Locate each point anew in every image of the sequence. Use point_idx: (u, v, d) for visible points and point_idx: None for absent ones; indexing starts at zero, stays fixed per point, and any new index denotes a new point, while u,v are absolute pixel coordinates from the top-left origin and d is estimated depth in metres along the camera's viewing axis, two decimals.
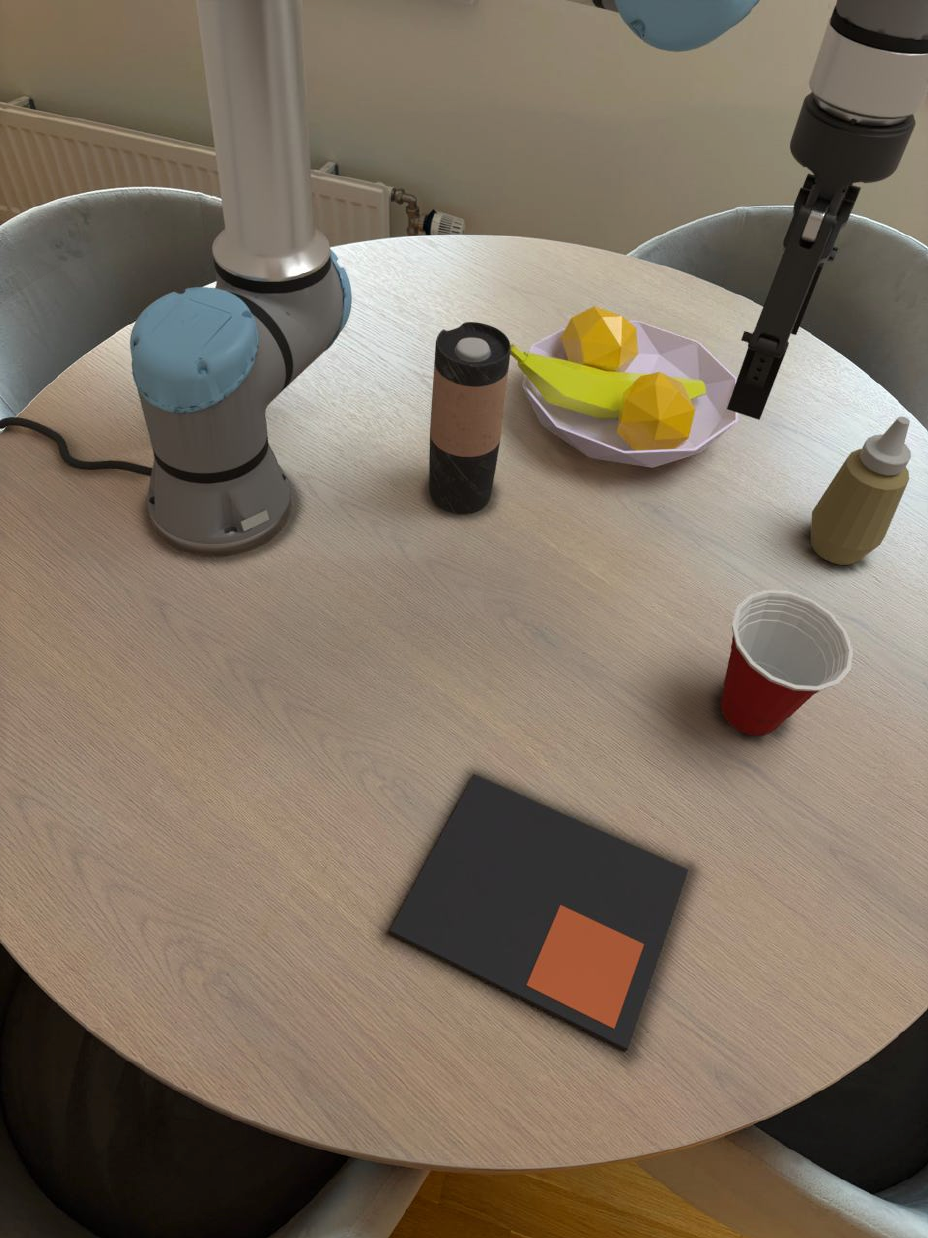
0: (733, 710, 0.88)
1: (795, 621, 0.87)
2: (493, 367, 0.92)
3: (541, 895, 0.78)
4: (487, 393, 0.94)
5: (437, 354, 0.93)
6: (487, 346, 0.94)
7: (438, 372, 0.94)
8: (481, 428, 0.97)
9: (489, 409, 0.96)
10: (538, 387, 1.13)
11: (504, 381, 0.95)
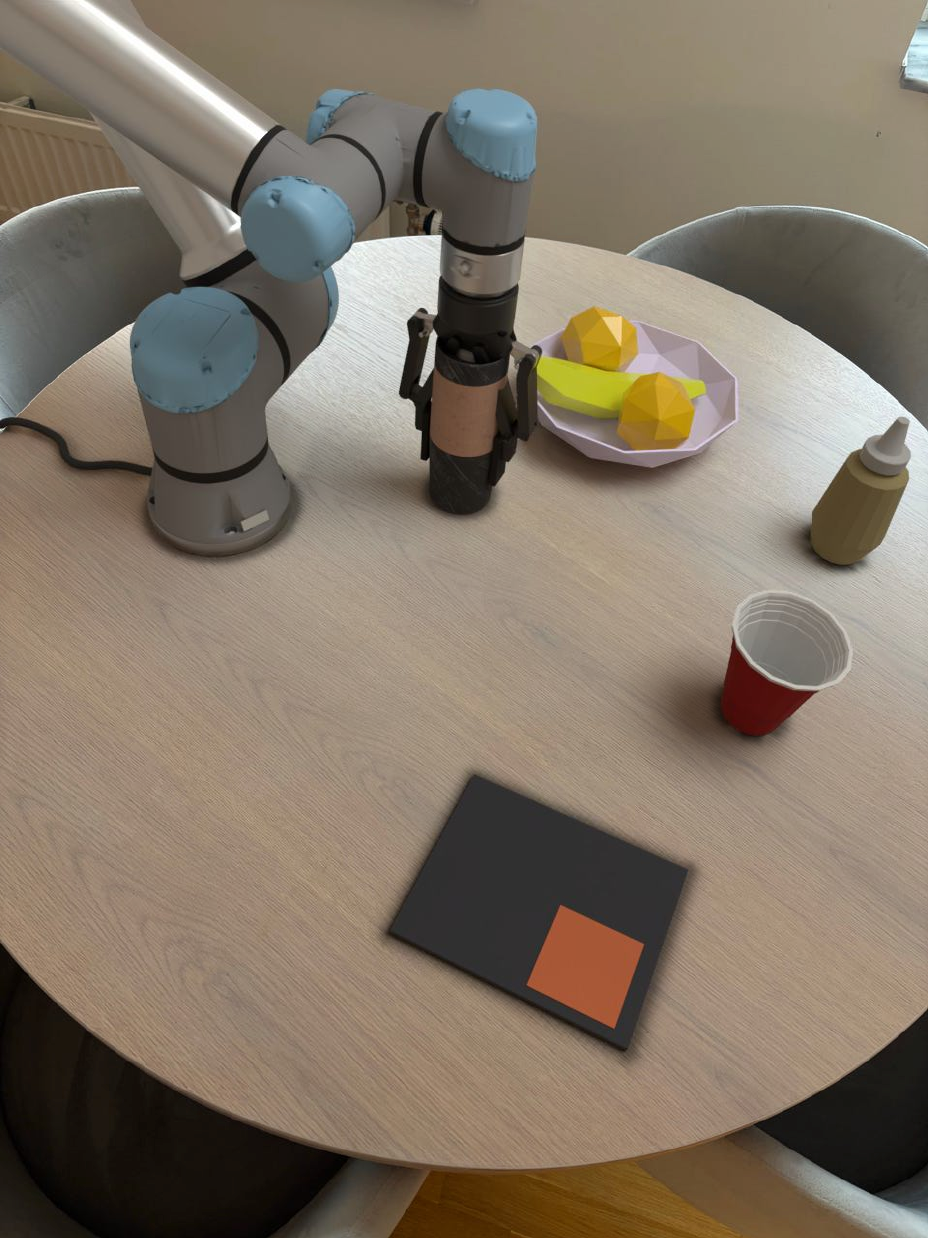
0: (733, 710, 0.88)
1: (795, 621, 0.87)
2: (493, 367, 0.92)
3: (541, 895, 0.78)
4: (487, 393, 0.94)
5: (437, 354, 0.93)
6: None
7: (438, 372, 0.94)
8: (480, 428, 0.97)
9: (489, 409, 0.96)
10: (538, 388, 1.13)
11: (504, 381, 0.95)
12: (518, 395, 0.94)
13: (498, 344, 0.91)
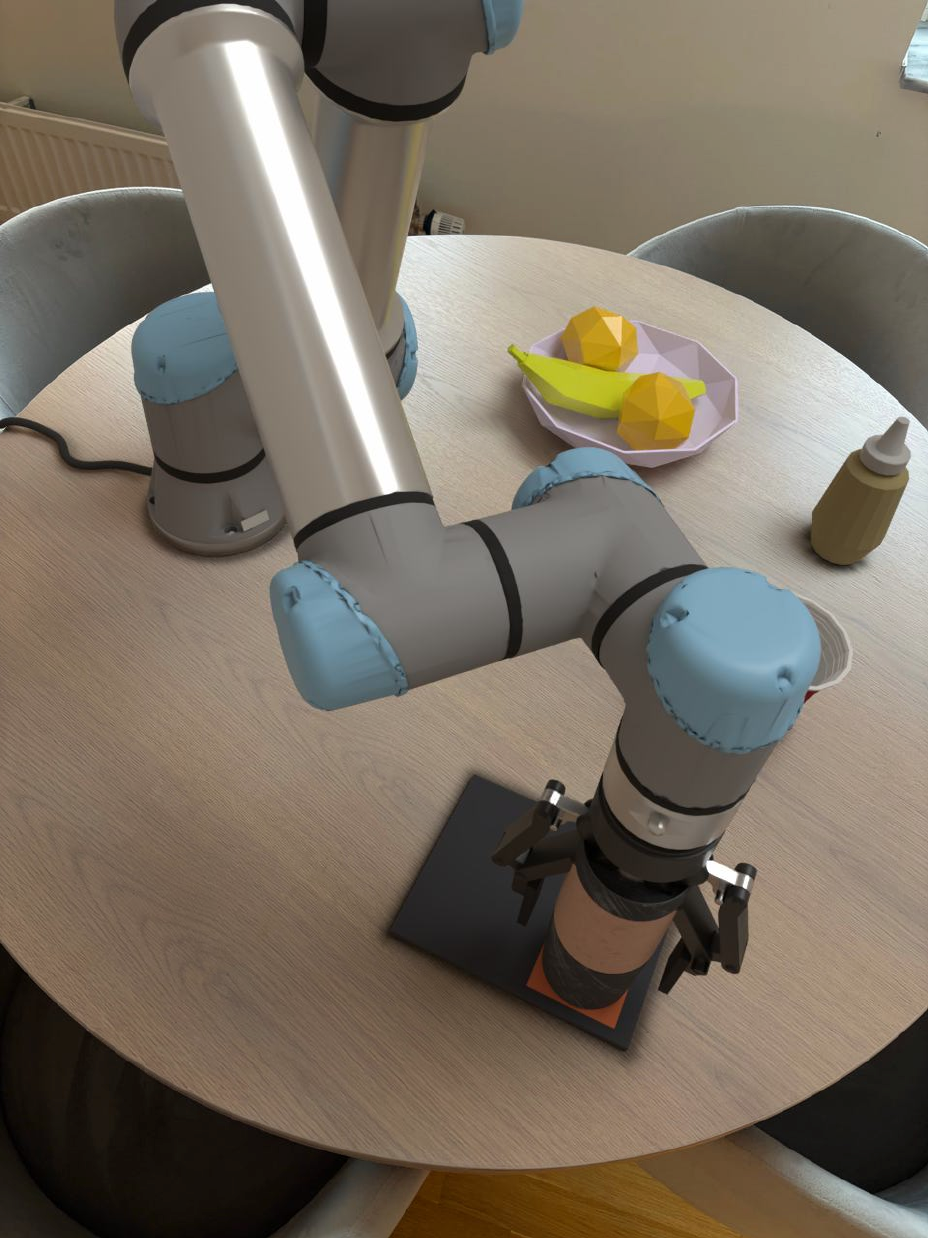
0: None
1: None
2: (677, 901, 0.57)
3: (541, 895, 0.78)
4: (661, 923, 0.59)
5: (585, 870, 0.58)
6: None
7: (584, 889, 0.59)
8: (642, 951, 0.63)
9: (659, 933, 0.61)
10: (538, 388, 1.13)
11: None
12: (721, 930, 0.59)
13: None
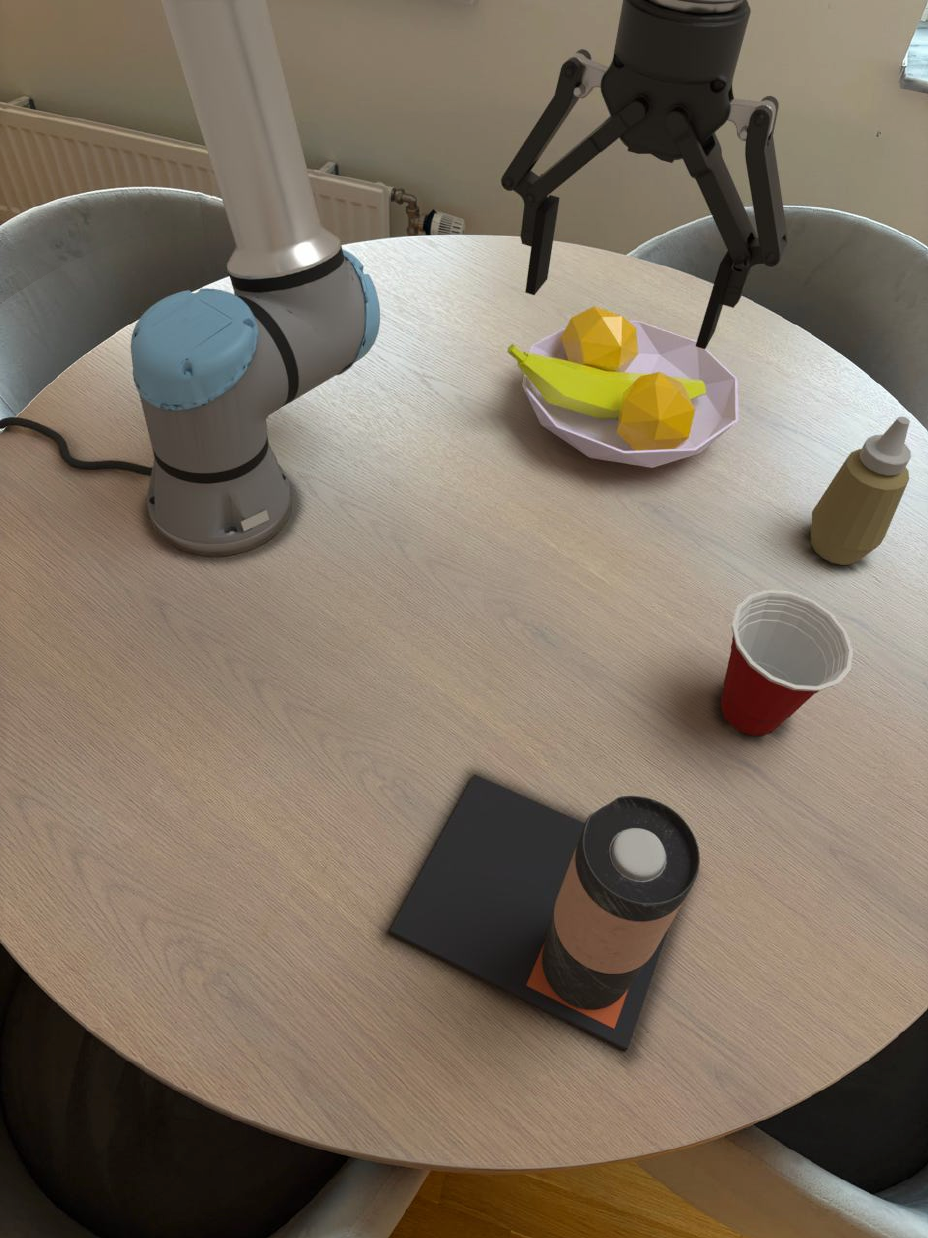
0: (733, 710, 0.88)
1: (795, 621, 0.87)
2: (677, 901, 0.57)
3: (541, 895, 0.78)
4: (661, 923, 0.59)
5: (584, 870, 0.58)
6: (661, 850, 0.59)
7: (584, 889, 0.59)
8: (642, 951, 0.63)
9: (659, 933, 0.61)
10: (538, 388, 1.13)
11: None
12: (752, 186, 0.60)
13: (709, 107, 0.58)
